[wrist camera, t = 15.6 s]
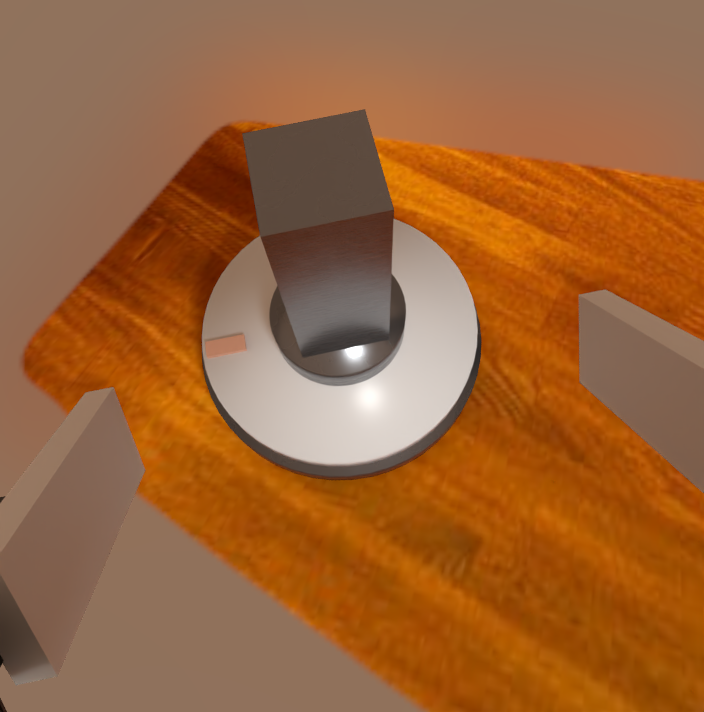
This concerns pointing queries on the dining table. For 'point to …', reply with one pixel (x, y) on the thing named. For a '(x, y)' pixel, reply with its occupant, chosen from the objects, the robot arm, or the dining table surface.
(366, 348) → the square post on disc
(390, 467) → the base
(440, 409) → the turntable platter
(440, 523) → the dining table surface
